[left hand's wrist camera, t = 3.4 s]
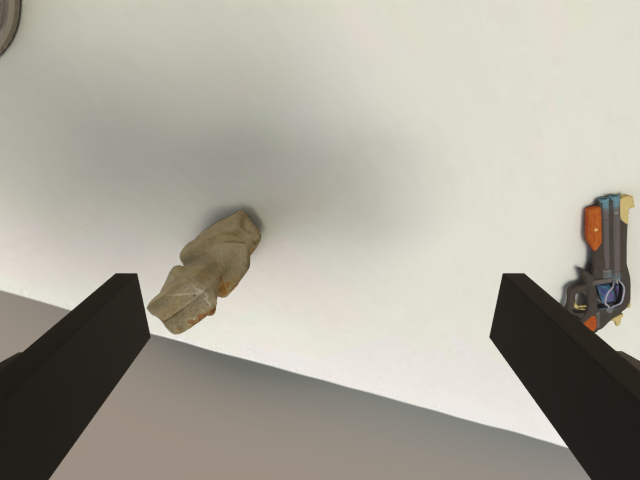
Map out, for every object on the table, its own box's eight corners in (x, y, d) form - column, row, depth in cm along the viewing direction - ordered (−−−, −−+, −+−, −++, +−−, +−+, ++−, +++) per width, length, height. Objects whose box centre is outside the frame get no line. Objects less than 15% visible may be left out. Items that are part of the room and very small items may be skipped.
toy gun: (546, 360, 44) (639, 350, 42) (535, 215, 38) (641, 194, 36) (536, 347, 46) (623, 336, 44) (525, 209, 41) (623, 189, 39)
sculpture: (191, 228, 40) (122, 297, 26) (243, 195, 39) (200, 250, 25) (223, 268, 42) (174, 352, 28) (273, 238, 40) (249, 311, 26)
